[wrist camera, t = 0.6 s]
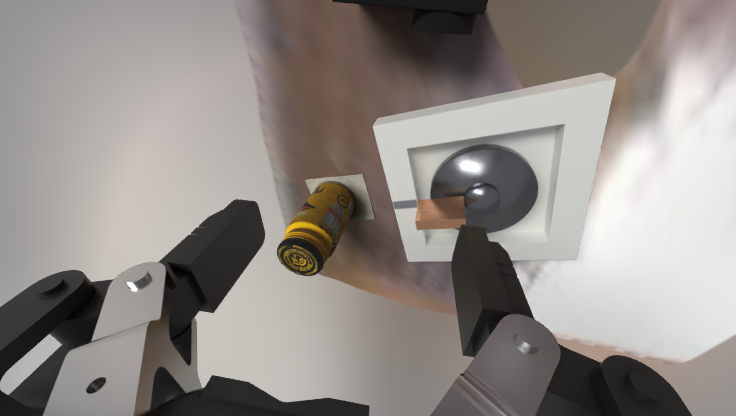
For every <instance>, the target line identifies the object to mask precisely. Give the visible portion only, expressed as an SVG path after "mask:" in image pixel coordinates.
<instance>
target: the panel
mask: <svg viewBox="0 0 736 416" xmlns="http://www.w3.org/2000/svg"><path fill="white" fill-rule="evenodd" d="M615 82H616V79H615V78H613V77H611V76H608V75H606V74H603V73H597V74H593V75H587V76H582V77H578V78H573V79H568V80H563V81H558V82H553V83H548V84H544V85H539V86H534V87H529V88H524V89H519V90H514V91H509V92H504V93H499V94H494V95H489V96H484V97H480V98H475V99H470V100H465V101H460V102H455V103H450V104H445V105H440V106H435V107H431V108H426V109H421V110H416V111H411V112H406V113H401V114H396V115H391V116H386V117H382V118H377V120H376V122H375V123H374V125H373V129H374V133H375V137H376V141H377V145H378V149H379V152H380V156H381V160H382V164H383V168H384V172H385V175H386V179H387V183H388V187H389V191H390V195H391V199H392V202H393V206H394V210H395V214H396V218H397V222H398V225H399V229H400V233H401V237H402V241H403V245H404V248H405V252H406V256H407V260H408V262H423V261H452V256H453V252H454V248H455V244H456V241H457V237H458V233H459V230H456V229H454V228H450V229H430V230H417V229H416V224H415V218H416V212H417V205H418V200H424V199H430V190H431V182H432V178H433V176H434V173H435V171H436V170H437V168H438V167H439V166H440V164H441V163H442V162H443V161H444V160H445V159H446V158H448V157H449V156H450V155H452V154H453V153H455V152H457V151H459V150H461V149H463V148H466V147H470V146H474V145H480V144H495V145H501V146H505V147H508V148H510V149H513V150H515V151H516V152H518V153H519V154H521V155H522V156H523V157H524V158H525V159H526V160H527V161H528V162H529V164H530V166H531V167H532V169H533V171H534V173H535V175H536V178H537V182H538V195H537V199H536V202H535V204H534V206H533V208H532V209H531V210H530V212H529V213H528V214H527V215H526V216H525V217H524V218H523V219H522V220H520V221H519V222H518V223H516V224H515V225H513V226H511V227H509V228H506V229H504V230H501V231H497V232H493V233H487V236H488V239H489V241H492V242H498V243H499V244H500V245H501V246H502V247H503V248H504V249H505V250H506V251H507V252H508V254H509V256H510V259H511V261H514V260H576V258H577V254H578V249H579V245H580V240H581V236H582V231H583V227H584V222H585V218H586V213H587V208H588V204H589V199H590V195H591V190H592V186H593V181H594V177H595V172H596V168H597V163H598V159H599V154H600V150H601V145H602V141H603V136H604V132H605V127H606V123H607V118H608V113H609V109H610V104H611V100H612V95H613V91H614V86H615Z"/></svg>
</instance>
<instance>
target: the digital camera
mask: <svg viewBox="0 0 736 416" xmlns="http://www.w3.org/2000/svg"><path fill="white" fill-rule="evenodd" d="M332 1H333V2H342V3H354V4H366V5H377V6H389V7H401V8H413V9H414V15H413V22H412V28H413V29H417V30H423V31H430V32H439V33H450V34H471V33H472V29H473V25H474V21H475V16H476V14H483V13H484V12H485V10H486V6H487V2H488V0H332Z"/></svg>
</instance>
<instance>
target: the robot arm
mask: <svg viewBox="0 0 736 416" xmlns="http://www.w3.org/2000/svg"><path fill="white" fill-rule="evenodd" d="M264 239H265V230H264V226H263V223H262V218H261V215H260V210H259V207H258V204H257V203H256V202H255V201H248V200H238V199H236V200H234V201H232V202H231V203H230V204H229V205H228V206H227V207H226V208H225V209H224V210H221V211H219V212H217V213H215V214H213V215H212V216H210V217H208V218H207V219H206V220H205V221H204V222H203V223H201V224H200V225H199V228H198V227H197V228H196V229H195V230H194V231H193V232H192V233H191V235H188V236H187V237H186V238H185V239H184V240H183V241H181V242H180V243H179V244H178V245H177V246H176V247H175V248H174V249H173V250H171V251H170V252H169V253H168V254H167V255H166V256H165V257H164V258H163V259H162V260H160V261H159V262H148V263H143V264H139V265H136V266H134V267H131V268H129V269H128V270H126V271H124V272H122V273H121V274H120V275H118V276H117V277H116V278H115V279H113V280H105V281H97V282H91V281H90V280H89V279H88V278H87V277H86V275H85V274H84V273H83V272H81V271H78V270H69V271H63V272H59V273H56V274H53V275H50V276H48V277H46V278H44V279H42V280H40V281H38V282H36V283H35V284H33V285H31V286H30V287H28V288H27V289H25V290H24V291H23V292H21V293H20V294H18V295H17V296H15V297H14V298H13V299H11V300H10V301H8V302H7V303H6V304H4V305H3V306H1V307H0V381H1V379H2V377H3V375H4V374H5V373H6V371H8V370H9V368H11V367H12V366H13V365H14V364H15V363H16V362H17V361H18V360H20V359H21V358H22V357H23V356H24V355H25V354H27V353H28V352H29V351H30V350H31V349H32V348H34V347H35V346H36V345H37V344H38V343H39V342H40V341H41V340H43V339H44V338H45V337H46V336H47V335H48V334H51V335H52V336H53V337H54V338H55V339H56V340H58V341H59V342H60V343H61V344H62V346H60V347H59V348H58V349H57V350H56V351H55V352H54V353H53V354H52V355H51V356H50V357H49V358H48V359H47V360H46V361H45V362H44V363H42V365H40V366H39V367H38V368H37V369H36V370H35V371H34V372H33V373H32V374H31V375H30V376H29V377H28V378H26V379H25V380H24V381H23V382H22V383H21V384H20V385H19V386H18V387H17V388H16V389H15V390H14V391H13V392H12V393H10V394H9V395H7V394H5V393H3V392H2V391H1V390H0V416H369V406H368V405H363V404H357V403H353V402H347V401H342V400H337V399H332V398H323V399H314V400H305V401H296V402H281V401H279V400H278V399H276V398H274V397H273V396H271V395H269V394H267V393H266V392H264V391H263V390H261V389H259V388H258V387H256V386H254V385H253V384H251V383H249V382H244V381H240V380H235V379H230V378H224V377H219V376H213V375H212V376H211V378H210V380H209V382H208V383H207V385H206V386H205V388H202V387H201V383H200V380H199V377H198V372H197V322H196V319H195V316H196V314H197V313H198V312H199V311H204V312H210V313H214V312H215V310H216V309H217V307H218V306H219V305H220V303H221V302H222V300H223V299H224V297H225V296H226V295H227V293H228V292H229V291H230V289H231V288H232V287H233V285H234V284H235V282H236V281H237V280H238V278H239V277H240V275H241V274H242V273H243V271H244V270H245V269H246V267H247V266H248V264H249V263H250V262H251V260H252V259H253V257H254V256H255V255H256V253H257V252H258V250H259V249H260V248H261V246H262V245H263V242H264ZM451 268H452V277H453V285H454V292H455V300H456V307H457V315H458V323H459V330H460V338H461V345H462V352H463V355H464V356H470V357H474V359H473V361H472V362H471V363H470V365H469V366H468V368H467V369H466V370H465V372H464V373H463V374H460V375H459V377H458V378H457V379H456V380H455V382H454V383H453V385H452V386H451V387H450V389H449V390H448V391H447V393H446V394H445V396H444V397H443V398H442V400H441V401H440V403H439V404H438V406H437V407H436V408H435V410H434V411H433V413H432V414H431V416H692V415H691V413H690V412H689V410H688V409H687V407H686V406H685V404H684V402H683V401H682V399H681V398H680V396H679V395H678V394H677V392H676V391H675V390H674V388H673V387H672V386H671V385H670V384H669V383H668V382H667V381H666V380H665V379H664V378H663V377H662V376H660V375H659V374H658V373H657V372H655V371H654V370H652V369H651V368H650V367H648V366H646V365H645V364H643V363H641V362H639V361H637V360H635V359H632V358H629V357H626V356H620V355H613V356H609V357H608V358H606V359H605V360H604V361H603V362H602V363H600V362H598V361H595V360H593V359H591V358H588V357H586V356H583V355H581V354H579V353H576V352H574V351H572V350H569V349H567V348H565V347H563V346H561V345H560V344H558V342H557V340H556V339H555V337H554V336H553V334H552V333H551V332H550V331H549V330H548V329H547V328H546V327H545V326H544V325H542V324H541V323H539V322H538V321H536V320H535V319H534V317H533V315H532V312H531V309H530V307H529V304H528V302H527V299H526V297H525V294H524V292H523V289H522V287H521V284H520V282H519V279H518V278H517V274H516V271H515V269H514V267H513V264H512V261H511V259H510V256H509V254H508V252H507V251H506V250H505V249H504V248H503V247H502V246H501V245H500V244H499V243H498V242H492V241H489V239H488V236H487V233H486V230H485V228H484V227H483V226H474V225H465V224H462V225H461V227H460V230H459V233H458V237H457V241H456V244H455V248H454V252H453V256H452V265H451Z"/></svg>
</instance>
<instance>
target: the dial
mask: <svg viewBox="0 0 736 416" xmlns="http://www.w3.org/2000/svg"><path fill="white" fill-rule="evenodd" d="M537 195H538V182H537V178H536V175H535V173H534V171H533V169H532V167H531V166H530V164H529V162H528V161H527V160H526V159H525V158H524V157H523V156H522V155H521V154H519V153H518V152H516V151H515V150H513V149H510V148H508V147H505V146H501V145H495V144H480V145H474V146H470V147H466V148H463V149H461V150H459V151H457V152H455V153H453V154H452V155H450V156H449V157H448V158H446V159H445V160H444V161H443V162H442V163H441V164H440V166H439V167H438V168H437V170H436V171H435V173H434V176H433V178H432V182H431V190H430V199H424V200H418V205H417V212H416V218H415V224H416V229H417V230H430V229H450V228H454V229H456V230H460V227H461V225H462V224H465V225H474V226H483V227H484V228H485V230H486V233H493V232H497V231H501V230H504V229H506V228H509V227H511V226H513V225H515V224H516V223H518V222H519V221H520V220H522V219H523V218H524V217H525V216H526V215H527V214H528V213H529V212H530V210H531V209H532V208H533V206H534V204H535V202H536V199H537Z"/></svg>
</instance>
